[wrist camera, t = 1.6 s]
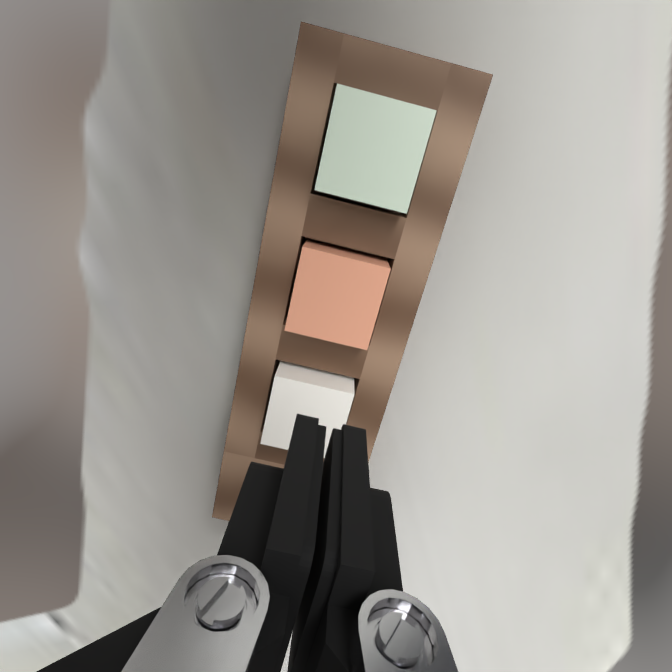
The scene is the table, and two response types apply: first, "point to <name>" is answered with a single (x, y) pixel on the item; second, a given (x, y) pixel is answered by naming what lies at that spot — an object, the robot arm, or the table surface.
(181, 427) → the table surface
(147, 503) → the table surface
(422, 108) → the sage key
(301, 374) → the cream key
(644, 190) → the table surface
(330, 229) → the console
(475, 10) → the table surface
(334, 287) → the terracotta key
